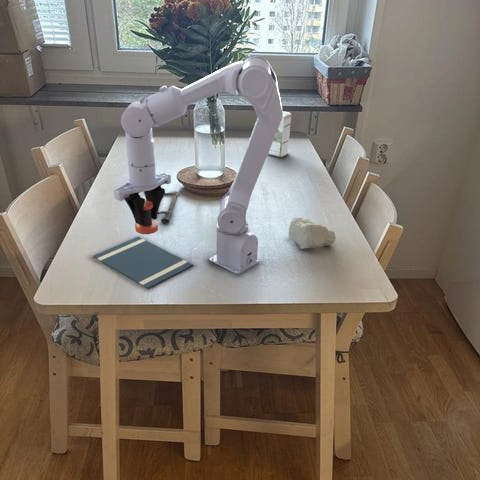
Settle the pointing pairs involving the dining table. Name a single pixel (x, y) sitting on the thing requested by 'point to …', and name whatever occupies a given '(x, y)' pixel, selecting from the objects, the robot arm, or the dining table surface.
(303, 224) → the decorative stone
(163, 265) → the tea towel
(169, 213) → the hacksaw
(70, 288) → the dining table surface
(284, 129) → the syrup box
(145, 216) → the orange thread spool
